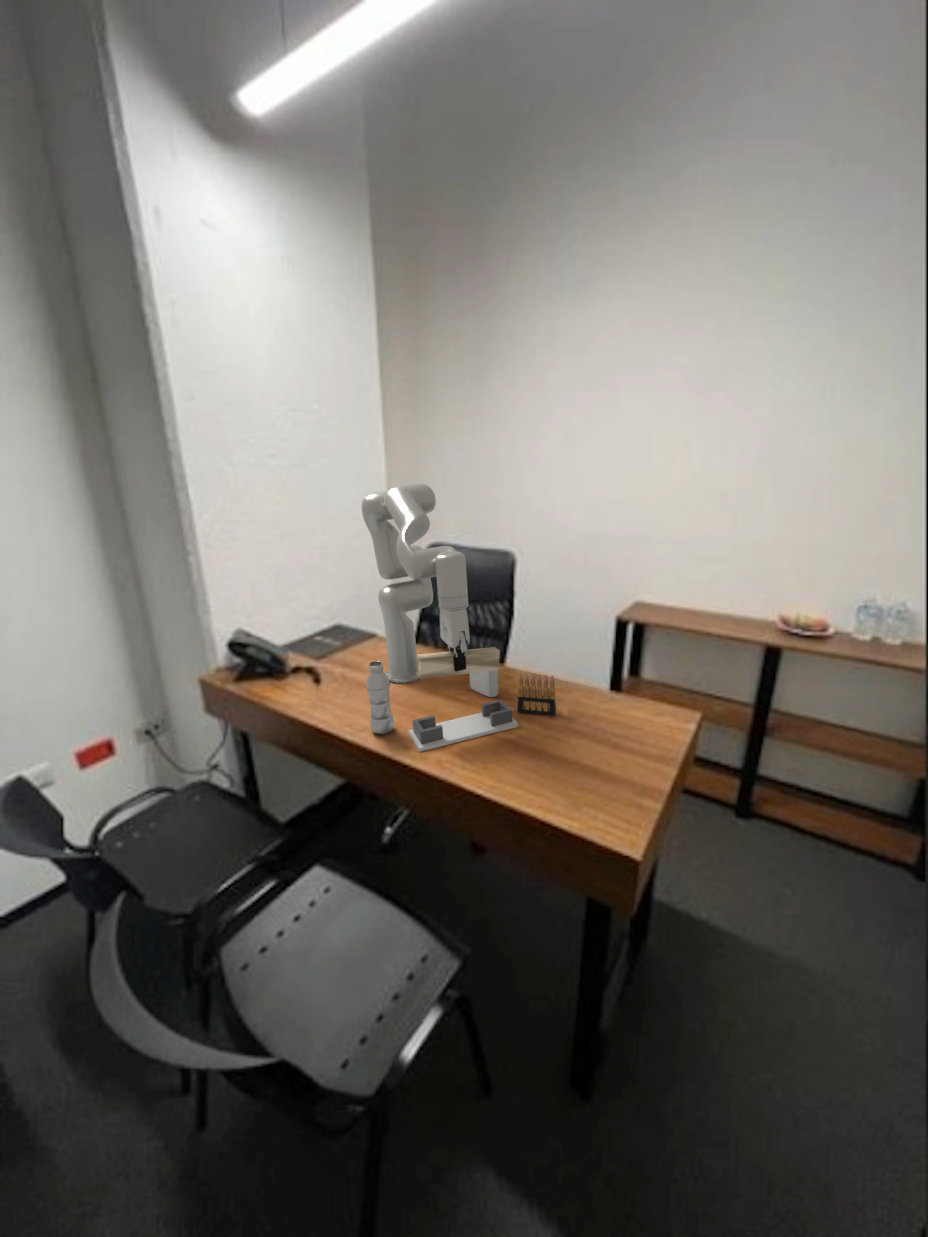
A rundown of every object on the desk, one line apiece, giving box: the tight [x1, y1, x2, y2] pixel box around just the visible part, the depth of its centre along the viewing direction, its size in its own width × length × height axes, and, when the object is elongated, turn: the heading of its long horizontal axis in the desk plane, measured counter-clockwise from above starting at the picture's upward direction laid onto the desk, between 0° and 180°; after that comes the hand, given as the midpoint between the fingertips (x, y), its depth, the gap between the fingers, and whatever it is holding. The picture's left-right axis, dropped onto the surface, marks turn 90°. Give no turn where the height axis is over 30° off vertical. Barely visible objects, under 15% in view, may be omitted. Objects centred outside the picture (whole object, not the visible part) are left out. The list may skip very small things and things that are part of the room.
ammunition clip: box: [517, 672, 557, 717], centre depth 158 cm, size 11×2×12 cm, turn 74°
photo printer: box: [468, 670, 499, 698], centre depth 172 cm, size 10×4×12 cm, turn 39°
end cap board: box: [408, 699, 519, 752], centre depth 152 cm, size 10×28×4 cm, turn 111°
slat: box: [417, 646, 501, 680], centre depth 149 cm, size 3×22×6 cm, turn 111°
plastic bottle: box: [365, 660, 395, 735], centre depth 152 cm, size 6×7×20 cm
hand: (457, 667), depth 149 cm, fingers closed on slat, 2 cm apart
